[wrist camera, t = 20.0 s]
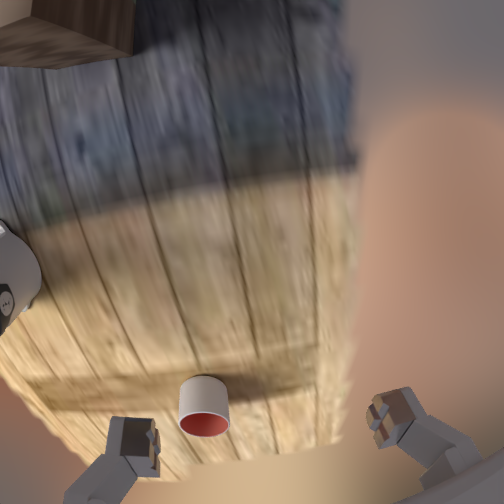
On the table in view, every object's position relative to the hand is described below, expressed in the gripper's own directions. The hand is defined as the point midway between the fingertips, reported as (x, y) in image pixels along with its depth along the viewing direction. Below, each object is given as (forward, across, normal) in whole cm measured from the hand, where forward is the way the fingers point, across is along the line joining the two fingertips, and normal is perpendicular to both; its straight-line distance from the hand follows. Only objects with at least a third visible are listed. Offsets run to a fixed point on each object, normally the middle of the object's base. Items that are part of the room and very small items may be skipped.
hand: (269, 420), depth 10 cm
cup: (+39, +4, +45) cm, 60 cm away
